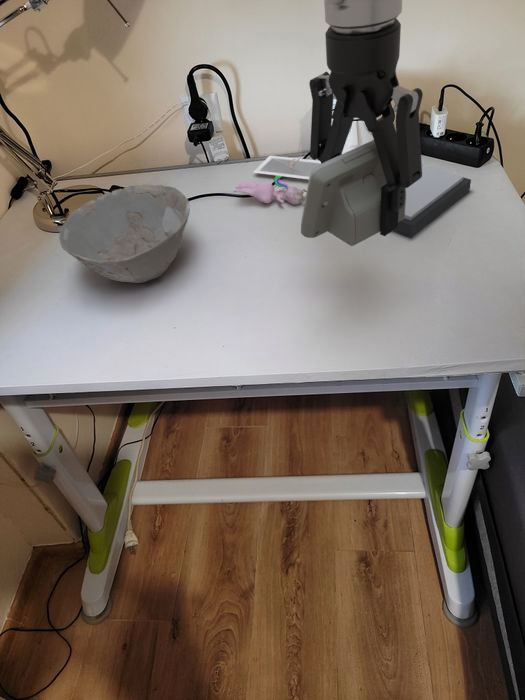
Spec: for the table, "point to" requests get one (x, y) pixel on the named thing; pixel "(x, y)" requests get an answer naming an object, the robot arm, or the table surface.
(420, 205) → the scale
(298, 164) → the touchpad
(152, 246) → the ceramic bowl
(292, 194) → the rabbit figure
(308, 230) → the digital clock
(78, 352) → the table surface
